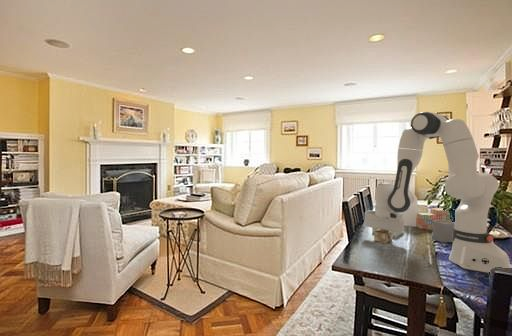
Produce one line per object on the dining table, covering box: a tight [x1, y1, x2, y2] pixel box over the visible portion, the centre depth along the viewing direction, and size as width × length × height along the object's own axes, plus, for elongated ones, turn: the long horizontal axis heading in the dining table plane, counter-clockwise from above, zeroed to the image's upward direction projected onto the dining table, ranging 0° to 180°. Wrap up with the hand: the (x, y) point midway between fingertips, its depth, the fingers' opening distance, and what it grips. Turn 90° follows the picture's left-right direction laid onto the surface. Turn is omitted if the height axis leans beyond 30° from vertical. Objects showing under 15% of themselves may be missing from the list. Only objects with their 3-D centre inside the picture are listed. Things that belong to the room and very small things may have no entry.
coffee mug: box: [432, 220, 455, 243], centre depth 153 cm, size 13×10×10 cm
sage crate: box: [371, 228, 404, 239], centre depth 166 cm, size 13×13×4 cm
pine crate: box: [373, 229, 393, 244], centre depth 152 cm, size 6×9×5 cm, turn 136°
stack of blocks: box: [416, 207, 451, 230], centre depth 177 cm, size 21×6×12 cm, turn 91°
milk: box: [400, 187, 419, 228], centre depth 188 cm, size 12×12×26 cm
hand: (383, 237), depth 152 cm, fingers closed on pine crate, 6 cm apart
